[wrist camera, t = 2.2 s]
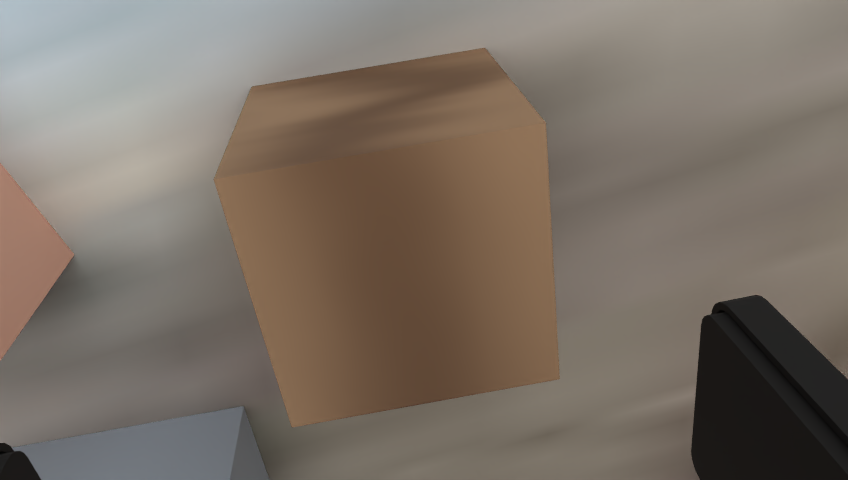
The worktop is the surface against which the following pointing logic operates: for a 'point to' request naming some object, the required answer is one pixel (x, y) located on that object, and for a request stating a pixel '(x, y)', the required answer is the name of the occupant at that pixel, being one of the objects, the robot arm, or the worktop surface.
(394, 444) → the worktop surface
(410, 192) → the walnut cube
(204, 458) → the base block
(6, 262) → the terracotta block
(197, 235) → the worktop surface
